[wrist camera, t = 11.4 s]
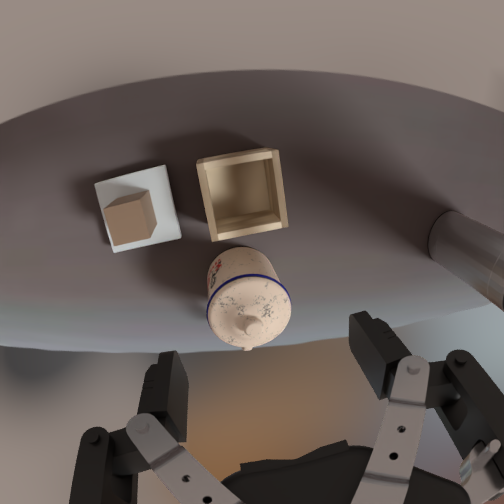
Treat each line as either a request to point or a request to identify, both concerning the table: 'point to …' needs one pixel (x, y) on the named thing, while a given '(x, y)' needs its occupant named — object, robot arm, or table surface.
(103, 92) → the table surface
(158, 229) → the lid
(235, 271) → the teacup with lid
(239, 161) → the box
